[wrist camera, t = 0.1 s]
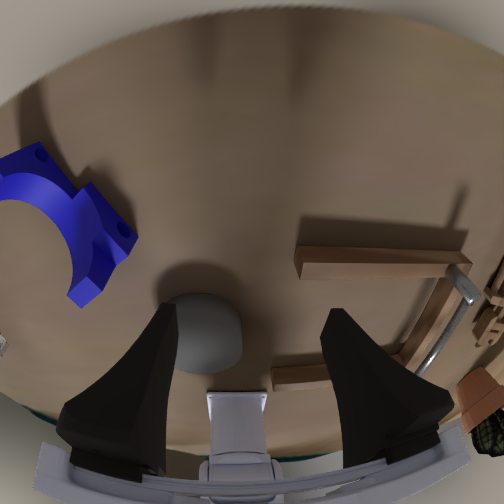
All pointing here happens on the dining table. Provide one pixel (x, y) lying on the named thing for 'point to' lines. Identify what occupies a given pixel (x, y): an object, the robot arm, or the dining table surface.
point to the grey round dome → (207, 334)
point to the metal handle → (469, 298)
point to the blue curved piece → (70, 217)
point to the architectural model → (2, 345)
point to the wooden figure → (491, 314)
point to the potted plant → (482, 411)
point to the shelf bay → (368, 268)
